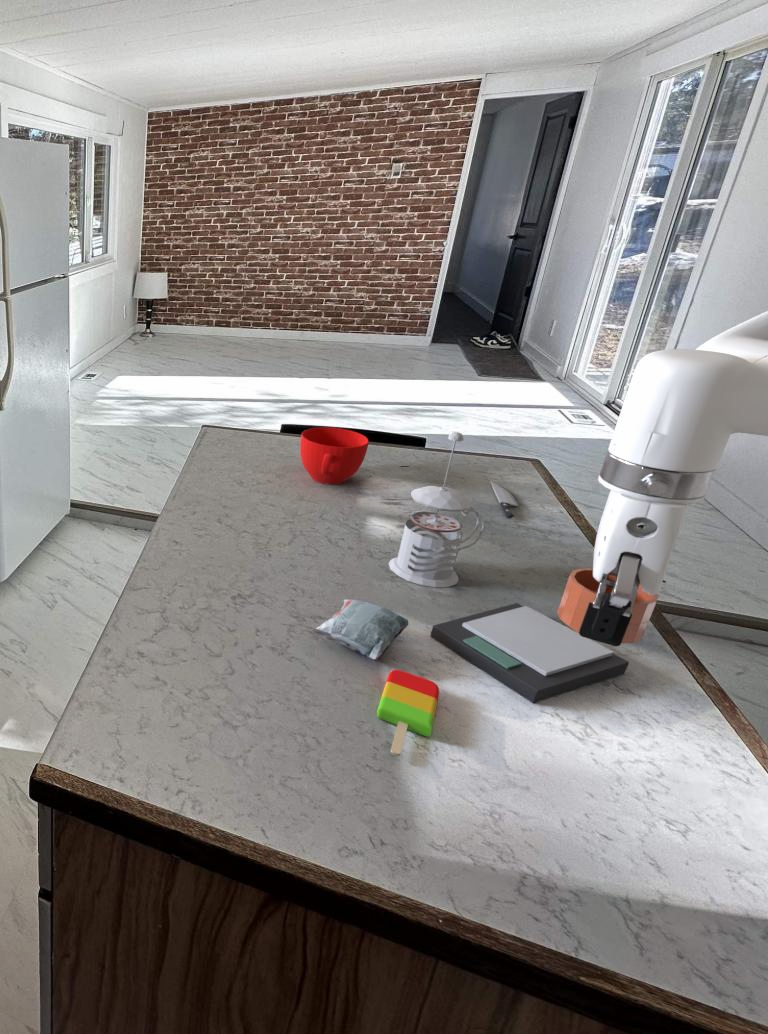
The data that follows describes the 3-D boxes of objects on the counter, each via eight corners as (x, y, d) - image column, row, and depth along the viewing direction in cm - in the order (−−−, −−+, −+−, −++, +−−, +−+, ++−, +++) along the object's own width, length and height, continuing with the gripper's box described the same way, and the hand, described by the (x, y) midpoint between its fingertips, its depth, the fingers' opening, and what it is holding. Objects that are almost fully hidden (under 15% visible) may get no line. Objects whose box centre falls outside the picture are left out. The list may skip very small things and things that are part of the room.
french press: (379, 554, 113) (408, 421, 104) (453, 558, 111) (489, 422, 102) (402, 585, 104) (436, 442, 95) (483, 590, 102) (526, 444, 93)
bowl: (583, 604, 74) (597, 563, 72) (656, 638, 68) (674, 595, 66) (541, 617, 73) (554, 575, 71) (612, 653, 67) (629, 609, 65)
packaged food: (309, 643, 92) (315, 615, 90) (344, 609, 99) (350, 582, 97) (375, 674, 86) (382, 644, 84) (407, 636, 93) (415, 608, 91)
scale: (513, 613, 96) (517, 599, 95) (624, 674, 84) (631, 658, 83) (429, 636, 92) (433, 621, 91) (533, 703, 80) (539, 687, 79)
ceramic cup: (287, 490, 139) (293, 447, 135) (300, 463, 152) (306, 423, 148) (355, 502, 132) (363, 458, 128) (363, 473, 145) (371, 432, 141)
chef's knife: (507, 485, 136) (489, 482, 137) (508, 480, 135) (491, 477, 137) (525, 523, 120) (505, 519, 122) (527, 517, 120) (507, 514, 121)
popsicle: (438, 694, 82) (441, 682, 81) (422, 771, 72) (425, 759, 71) (388, 676, 85) (391, 665, 85) (366, 747, 75) (368, 735, 74)
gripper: (718, 517, 55) (650, 680, 62) (701, 456, 67) (645, 598, 74) (600, 496, 60) (548, 648, 67) (603, 442, 72) (558, 577, 78)
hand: (599, 621), depth 70 cm, fingers closed on bowl, 7 cm apart
